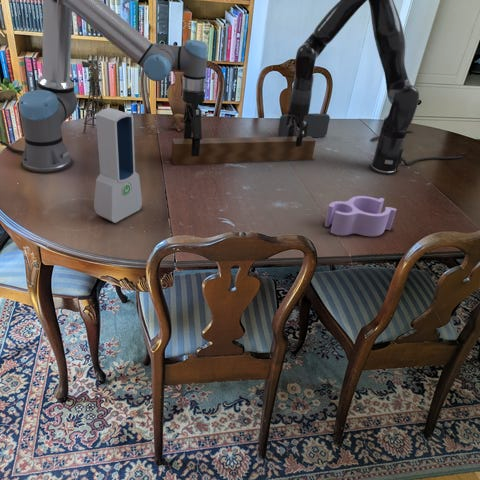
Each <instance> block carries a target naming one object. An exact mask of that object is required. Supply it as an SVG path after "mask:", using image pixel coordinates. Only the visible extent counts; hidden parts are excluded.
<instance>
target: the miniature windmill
mask: <svg viewBox="0 0 480 480" xmlns="http://www.w3.org/2000/svg"><path fill="white" fill-rule="evenodd" d="M95 56H96V57H95ZM90 58H91V59H90V60H89V62H90V63H89V62H87V61H83V60H82V61H81V67H82V68H89V70H90V71H89V73H90V75H91V77H90V78H89V79H86V82H90V84H89V87H88V88H89V91H88V97H87V104H86V109H85V116H84V118H85V119H84V122H83V124H84V125H83V133H86V129H87V125H88V126H91V127H97V125H96V124H95V120H96V117H95V114H97V113H98V112H99V111H101V110H100V109H102V110H103V109H106V108H107V107H106V105H105V102H104V97H103V95H102V92H101V86H100V84H99V83H100V82H102V81H103V79H101V78H99V76H100V75H101V72H102V70H101V69H102V66H101V65H102V63H101V60H102V59H101V57H100V56H99V55H98V54H97V53H94V54H93V55H92V56H91V57H90ZM91 93H92V96H91ZM98 93H99V95H98ZM100 100H101V103H102V106H100V103H99V101H100ZM95 101H96V105H95ZM90 105H92V106H91V107H90ZM95 108H97V110H95ZM89 112H90V113H89ZM90 115H92V116H91V118H89V119H88V117H89V116H90ZM90 121H92V123H88V122H90Z"/></svg>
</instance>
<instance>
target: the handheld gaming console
mask: <svg viewBox="0 0 480 480" xmlns="http://www.w3.org/2000/svg"><path fill="white" fill-rule="evenodd" d="M287 116H288V113H284V114H282V115H281V116H280V117H279V124H278V130H277V131H278V132H277V135H278V137H287V135H288V129H289V128H288V125H286V122H287ZM330 119H331V117H330V115H329V114H327V113H309V114H308V115H306V116H305V117H304V121H308V127H307V135H306V136H311V137H312V138H322V137H326V136H327V134H328V128H329V124H330ZM289 121H290V120H289ZM293 129H294V134H293V137H294V136H297V132H296V131H295V128H293ZM298 129H300V128H298ZM299 132H300V131H299Z"/></svg>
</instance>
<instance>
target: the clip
mask: <svg viewBox="0 0 480 480" xmlns="http://www.w3.org/2000/svg"><path fill="white" fill-rule="evenodd" d="M384 201H385V198H383V197H379V198H376V197H373V196H368V195H357V196H352V197H350V198H349V200H347V201H339V200H338V201H337V200H335V201H332V202H330V203H329V205H328V208H327V214H326V218H325V222H324V227H326V228H329V227H330V226H331V227H330V233H331V234H333V235H336V236H348V235H353V234H356V235H360V236H364V237H365V236H366V237H378V236H381V235H382V234H384V232H385V230H387V231H391V229H392V226H393V222H394V219H395V216H396V213H397V210H398V209H397V208H395V207H391V206H385V207H384V211H383V212H382V209H383V206H384Z"/></svg>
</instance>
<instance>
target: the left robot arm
mask: <svg viewBox="0 0 480 480" xmlns="http://www.w3.org/2000/svg"><path fill="white" fill-rule="evenodd" d="M73 13H74V14H75V15H76V16H78V18H80V19H81V20H82V21H83V22H84V23H86V24H87V25H89V27H91V28H92V29H94V30H95V31H96V32H97V33H99V34H100V35H101V36H102V37H103V38H104V39H106V40H107V41H108V42H109V43H111V44H112V45H113V46H115V47H116V48H117V49H118V50H119V51H121V52H122V53H123V54H124V55H126V57H128V58H129V59H131V61H133V62H134V63H136V64H137V65H138V66H139V67H140V68H142V69H143V72H144V74H145V76H146V77H147V78H148V79H149V80H150V81H153V82H161V81H163V80H165V79H166V78H167V77H168V76H169V75H170V74H171V71H183V76H182V88H183V90H182V101H183V102H184V103H185V105H184V111H183V115H184V117H183V120H184V123H183V124H184V125H183V139H192V149H191V156H199V150H200V139H202V138H203V133H202V132H203V131H202V130H203V129H202V117H201V110H202V109H201V108H200V107H199V105H200V104H204V102H205V99H206V91H205V90H206V84H207V83H208V80H207V79H206V78H207V68H208V45H207V43H206V42H205V41H203V40H199V39H198V40H197V39H187V40H185V41H184V45H174V44H173V45H172V44H166V43H161V42H156V43H153V42H151V41H150V40H149V39H148V38H146V37H145V36H144V35H143V34H142V33H141V32H139V31H138V30H137V29H136V28H135V27H133V26H132V25H131V24H130V23H129V22H127V21H126V20H125V19H124V18H123V17H121V16H120V15H119V14H118V13H116V12H115V11H114V10H113V9H112V8H111V7H110V6H108V5H107V4H106V3H105V2H104V1H103V0H42V72H41V73H42V75H41V76H40V77H39V78H38V79H37V89H35V90H31V91H27V92H24V93H22V95H20V97H19V99H18V111H19V114H20V119H21V126H22V132H23V136H24V148H23V150H21V149H16V148H14V147H11V146H10V145H9V144H8V143H6V142H4V141H2V140H0V145H3V146H4V147H6V148H7V149H9V150H10V151H12V152H15V153H19V154H22V158H21V159H22V160H21V161H22V166H23V168H24V169H25V170H27V171H29V172H33V173H39V174H46V173H56V172H61V171H63V170H66V169H67V168H69V167H70V166H71V163H72V159H71V155H70V150H67V149H68V148H67V147H66V145H65V143H64V140H63V132H62V124H64V123H65V121H66V120H68V119H69V118H70V117H71V116H72V115H73V114H74V112H75V111H76V108H77V106H78V97H77V94H76V92H75V84H74V82H73V81H72V80H71V79H70V77H71V54H72V30H73V29H72V27H73V26H72V25H73Z"/></svg>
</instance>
